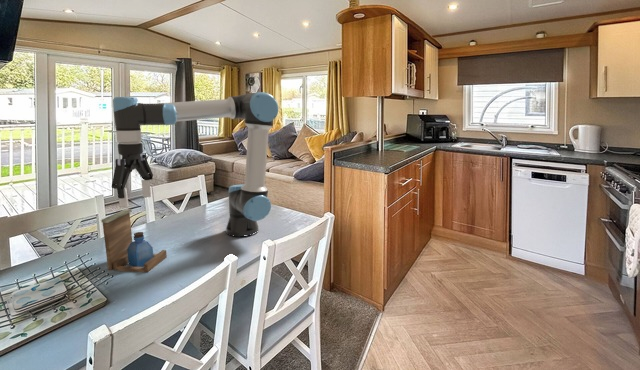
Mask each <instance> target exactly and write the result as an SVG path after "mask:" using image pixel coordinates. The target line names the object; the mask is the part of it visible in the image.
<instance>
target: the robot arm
mask: <svg viewBox="0 0 640 370" xmlns="http://www.w3.org/2000/svg"><path fill="white" fill-rule="evenodd" d="M112 111H113V118H114V124H115V125H114V126H115V132H116V140H117V141H116V142H117V143H118V144H117V151H118V155H120V156H121V158H115V162H114V163H115V167H114V172H113V178H112V182H111V188H112V189H114V190H115V189H116V190H117V191H116V192H117V197H118V203H119V207H120V208H129V198H128V197H129V196H128V190H127V189H128V188H127V187H126V186H127V182H128V180H129V177H130V174H131V172H133V170H134V171H135V170H136V172H137V173H138V174H139V176H140V178H141V188H142V197H143V198H151V197H152V192H151V191H152V190H151V183H150V182H151V181H152V180H153V177H154V173H153V171H152V169H151V167H150V165H149V162H148V160H147V155H146V154H143V153H144V148H143V144H142V141H143V138H142V136H143V135H142V129H141V128H142V127H141V126H174V125H176V123H177V122H186V121H187V122H188V121H198V120H208V119H209V120H210V119H220V118H221V119H222V118H223V119H224V118H229V119H231V120H237V119H238V120H244V125H245V126H246V127H247V143H246V156H245V157H246V159H245V160H246V162H245V177H244V184H243V183H242V184H241V183H239V184H235V185H230V186H229V187H228V191H227V192H228V193H227V194H228V206H229V207H228V209H229V212H228V213H229V216H228V217H229V218H228V220H227V223H226V228H225V233H226V232H227V233H228V234H230V235H234V236H244V235H250V234H253V233H255V232H257V231H258V232H259V223H258V222H257V221H262V220H263V219H265V218H266V217H268V215H269V214H270V212H271V209H272V203H271V200H270V199H269V198H268V193H269V188H267V186H266V184H265V183H266V173H267V161H268V160H267V159H268V158H267V157H268V143H269V132H270V130H271V129H272V128H273V125H274V120H275V119H276V118H277V117H278V114H279V104H278V101H277V100H276V98H275V97H274V95H272V94H270V93H267V92H263V91H257V92H248V93H243V94H241V95H233V96H228V97H227V98H225V99H207V100H193V101H191V100H190V101H177V102H162V103H158V102H157V103H143V102H139V99H138V98H137V97H131V96H115V97H114V98H113V99H112ZM258 232H257V233H258ZM227 233H226V234H227ZM228 234H227V235H228ZM230 235H229V236H230ZM234 236H233V237H234Z"/></svg>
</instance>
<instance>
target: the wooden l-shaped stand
mask: <svg viewBox="0 0 640 370" xmlns="http://www.w3.org/2000/svg"><path fill="white" fill-rule="evenodd" d="M132 211H133V210H132V208H125V209H122V210H121V211H119V212H116V213H114V214H112V215H109V216H107V217H104V218H102V219H101V220H100V221H101V224H102V230H103V236H104V237H103V238H104V239H103V240H104V246H105V254H106V262H107V270H108V271H118V272H133V273H134V272H137V273H150V271H152V270H153V269H154V268H155V267H156V266H158V265H159V264H160V263H162V262H163V261H164V260H166V258H167V256H168V255H167V254H168V253H167V250H166V249H162V250H160V251H159V252H158V253H153V258H151V259H150V260H149V261H147V262H146V263H145V264H144V267H133V266H131V265H130V266H129V261H128V252H127V248H128V247H129V245H130V243H131V242H133V235H132V234H133V233H132V226H131V215H130V213H131V212H132ZM132 213H133V212H132Z"/></svg>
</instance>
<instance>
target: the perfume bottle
mask: <svg viewBox="0 0 640 370" xmlns="http://www.w3.org/2000/svg"><path fill="white" fill-rule="evenodd" d="M133 235H134V236H133V241H132V242H131V243H130V245H129V247H128V248H127V252H128V261H129V263H128V266H129V265H130V266H133V267H144V264H145V263H146V262H147V261H149V260H150V259H151V258H153V254H154V247H153V246H152V244H150V242H149V241H147V240H145V235H144V232H143V231H137V232H134V233H133Z"/></svg>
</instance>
